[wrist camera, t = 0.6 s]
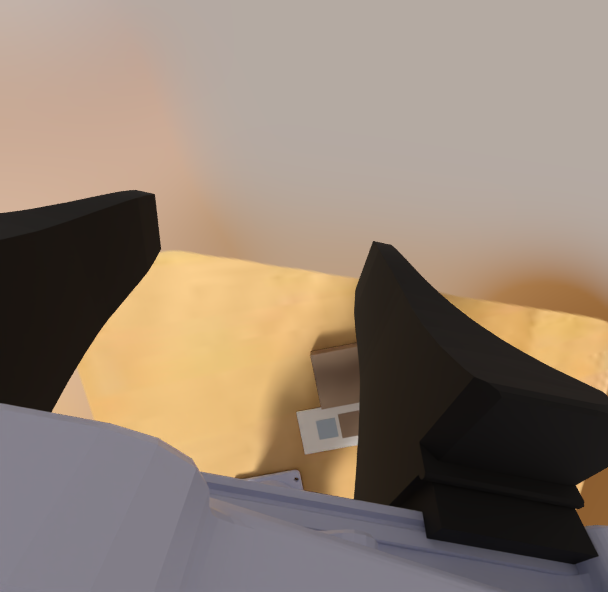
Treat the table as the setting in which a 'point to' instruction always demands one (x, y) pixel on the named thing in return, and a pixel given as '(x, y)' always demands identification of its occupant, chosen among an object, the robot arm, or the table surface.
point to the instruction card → (329, 427)
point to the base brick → (337, 375)
